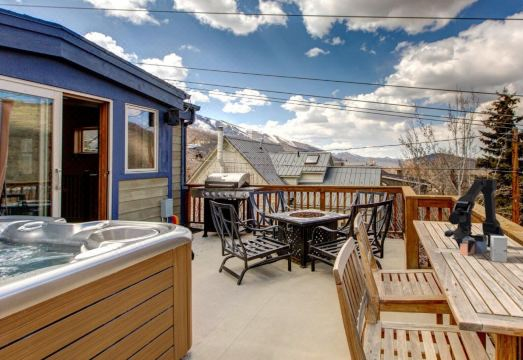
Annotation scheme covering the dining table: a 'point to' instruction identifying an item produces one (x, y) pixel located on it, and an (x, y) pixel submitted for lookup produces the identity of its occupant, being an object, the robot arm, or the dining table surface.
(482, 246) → the block
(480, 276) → the dining table surface
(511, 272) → the dining table surface
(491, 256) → the skincare box
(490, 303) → the dining table surface
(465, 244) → the salmon pink prism
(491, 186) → the robot arm
